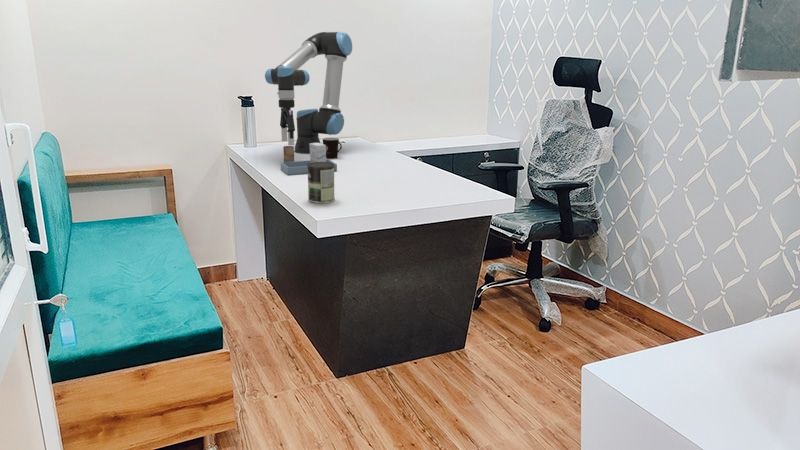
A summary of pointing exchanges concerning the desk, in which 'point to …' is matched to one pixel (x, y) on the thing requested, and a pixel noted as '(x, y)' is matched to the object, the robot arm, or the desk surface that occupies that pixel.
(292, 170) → the tray
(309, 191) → the coffee can
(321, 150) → the ink box
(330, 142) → the coffee mug
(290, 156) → the walnut dowel
